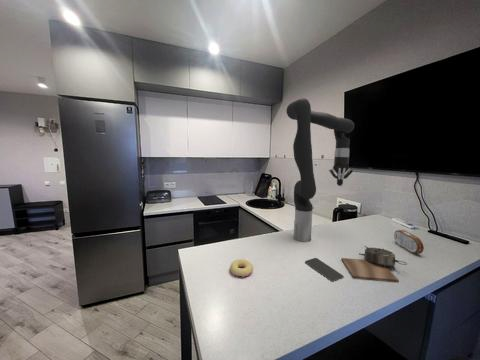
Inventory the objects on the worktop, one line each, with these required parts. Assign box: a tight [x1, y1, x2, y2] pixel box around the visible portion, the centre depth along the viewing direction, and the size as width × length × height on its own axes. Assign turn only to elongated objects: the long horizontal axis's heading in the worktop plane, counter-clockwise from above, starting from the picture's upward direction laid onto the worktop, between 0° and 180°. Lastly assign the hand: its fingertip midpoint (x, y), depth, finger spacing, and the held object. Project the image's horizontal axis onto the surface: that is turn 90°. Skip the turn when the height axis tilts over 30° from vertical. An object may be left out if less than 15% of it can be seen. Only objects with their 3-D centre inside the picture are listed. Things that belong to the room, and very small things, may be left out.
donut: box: [229, 258, 254, 277], centre depth 81 cm, size 10×5×9 cm
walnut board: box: [340, 257, 400, 283], centre depth 81 cm, size 16×13×1 cm
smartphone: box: [304, 257, 345, 283], centre depth 82 cm, size 7×1×15 cm
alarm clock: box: [358, 245, 408, 267], centre depth 84 cm, size 11×5×16 cm
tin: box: [393, 229, 425, 254], centre depth 98 cm, size 15×3×8 cm, turn 179°
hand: (339, 185), depth 115 cm, fingers closed
